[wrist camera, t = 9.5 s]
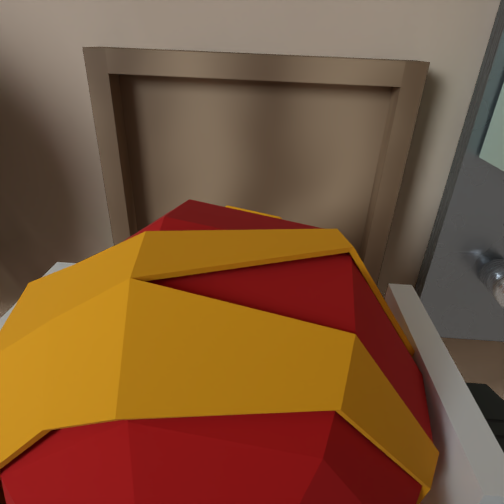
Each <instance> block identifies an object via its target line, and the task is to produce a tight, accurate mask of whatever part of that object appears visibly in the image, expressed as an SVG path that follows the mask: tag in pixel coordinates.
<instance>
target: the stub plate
mask: <svg viewBox="0 0 504 504" xmlns="http://www.w3.org/2000/svg"><path fill="white" fill-rule="evenodd" d="M503 83H504V0H501V2H500V5H499V9H498V12H497V16H496V19H495V22H494V26H493V29H492V32H491V36H490V39H489V42H488V46H487V49H486V52H485V56H484V59H483V62H482V66H481V69H480V72H479V76H478V79H477V83H476V86H475V89H474V93H473V96H472V99H471V103H470V106H469V109H468V113H467V116H466V119H465V123H464V126H463V129H462V133H461V136H460V139H459V143H458V146H457V150H456V153H455V156H454V160H453V163H452V166H451V170H450V173H449V176H448V180H447V183H446V186H445V190H444V193H443V196H442V200H441V203H440V206H439V210H438V213H437V216H436V220H435V223H434V227H433V230H432V233H431V237H430V240H429V243H428V247H427V250H426V253H425V257H424V260H423V263H422V267H421V270H420V273H419V277H418V280H417V283H416V287H415V291H416V293H417V295H418V297H419V299H420V301H421V302H422V304H423V306H424V308H425V310H426V312H427V313H428V315H429V317H430V319H431V321H432V322H433V324H434V326H435V328H436V330H437V332H438V333H439V335H440V337H445V338H459V339H474V340H488V341H502V342H504V171H502V170H500V169H499V168H497V167H495V166H493V165H492V164H490V163H488V162H486V161H485V160H483V159H481V158H480V157H479V155H480V152H481V149H482V146H483V143H484V140H485V137H486V134H487V131H488V128H489V125H490V122H491V119H492V116H493V113H494V110H495V107H496V104H497V101H498V98H499V95H500V92H501V89H502V86H503Z"/></svg>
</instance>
